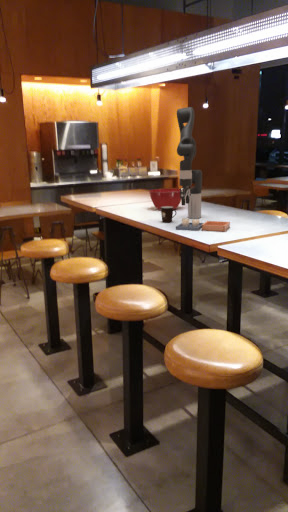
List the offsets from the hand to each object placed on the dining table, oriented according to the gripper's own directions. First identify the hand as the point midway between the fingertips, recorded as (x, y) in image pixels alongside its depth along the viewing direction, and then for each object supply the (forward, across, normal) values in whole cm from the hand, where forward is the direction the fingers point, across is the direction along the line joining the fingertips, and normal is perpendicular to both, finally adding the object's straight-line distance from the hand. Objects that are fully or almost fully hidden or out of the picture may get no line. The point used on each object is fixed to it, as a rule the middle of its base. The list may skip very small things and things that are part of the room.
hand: (185, 204), depth 261 cm
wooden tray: (+14, 0, +19) cm, 24 cm away
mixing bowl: (+14, -69, -38) cm, 80 cm away
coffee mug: (+15, -14, -17) cm, 26 cm away
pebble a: (+14, 0, 0) cm, 14 cm away
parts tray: (+14, 0, +3) cm, 15 cm away
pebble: (+14, 0, +6) cm, 15 cm away
